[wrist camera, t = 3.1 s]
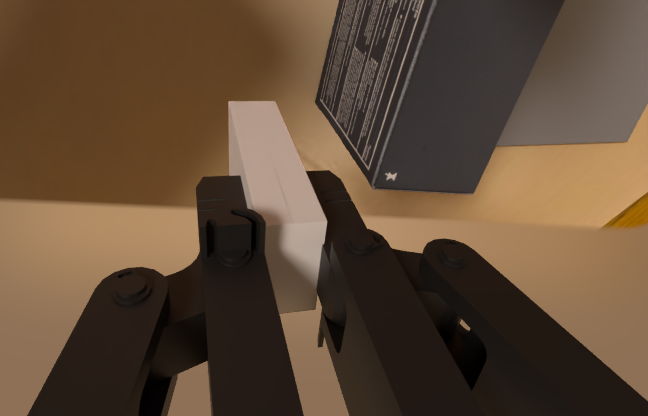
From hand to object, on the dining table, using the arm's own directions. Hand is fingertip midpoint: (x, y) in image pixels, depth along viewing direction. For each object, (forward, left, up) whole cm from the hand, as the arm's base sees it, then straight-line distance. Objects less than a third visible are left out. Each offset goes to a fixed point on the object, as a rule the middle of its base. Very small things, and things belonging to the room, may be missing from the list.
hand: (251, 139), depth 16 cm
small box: (+10, 0, -14) cm, 17 cm away
